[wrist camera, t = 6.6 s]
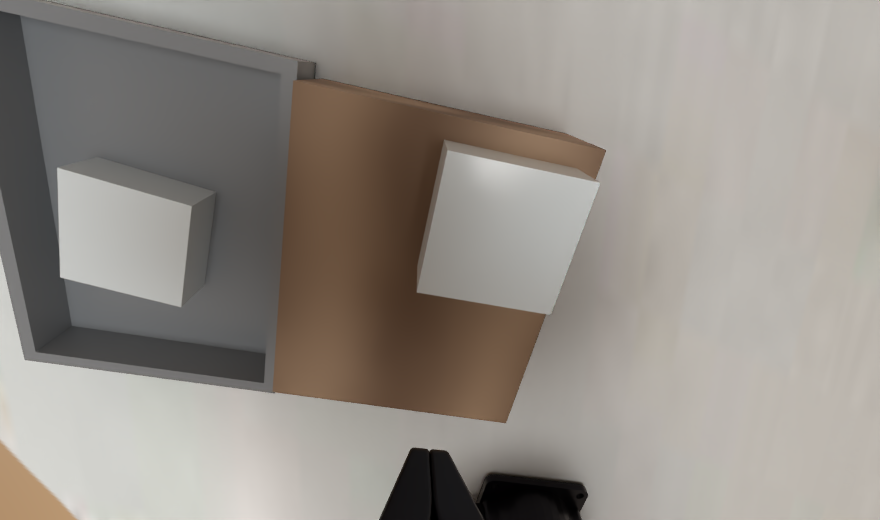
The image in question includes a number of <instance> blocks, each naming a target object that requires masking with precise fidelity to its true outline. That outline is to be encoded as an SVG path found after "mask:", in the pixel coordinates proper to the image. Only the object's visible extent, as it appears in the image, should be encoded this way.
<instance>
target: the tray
mask: <svg viewBox="0 0 880 520" xmlns="http://www.w3.org/2000/svg"><path fill="white" fill-rule="evenodd" d="M315 67H316V63H315V62H310V61H306V60H302V59H297V58H293V57H289V56H284V55H280V54H275V53H271V52H267V51H262V50H258V49H254V48H249V47H245V46H241V45H236V44H232V43H228V42H223V41H219V40H215V39H210V38H206V37H202V36H197V35H193V34H189V33H184V32H180V31H176V30H171V29H167V28H163V27H158V26H154V25H150V24H145V23H141V22H136V21H132V20H128V19H123V18H119V17H115V16H110V15H106V14H102V13H97V12H93V11H89V10H84V9H80V8H76V7H71V6H67V5H63V4H58V3H54V2H50V1H45V0H0V254H1V258H2V263H3V267H4V272H5V276H6V280H7V285H8V289H9V293H10V298H11V302H12V306H13V311H14V315H15V319H16V324H17V328H18V332H19V337H20V341H21V346H22V350H23V354H24V359H25V360H29V361H37V362H44V363H52V364H59V365H67V366H74V367H82V368H89V369H97V370H104V371H112V372H119V373H127V374H134V375H142V376H149V377H157V378H164V379H172V380H179V381H187V382H194V383H202V384H209V385H217V386H224V387H232V388H239V389H247V390H254V391H262V392H269V393H275V392H273V377H274V362H275V346H276V331H277V316H278V301H279V286H280V271H281V256H282V241H283V226H284V211H285V196H286V180H287V165H288V150H289V135H290V120H291V105H292V90H293V80H308V79H315ZM96 157H99V158H103V159H106V160H109V161H113V162H116V163H120V164H123V165H126V166H130V167H133V168H137V169H140V170H143V171H147V172H150V173H153V174H157V175H160V176H164V177H167V178H170V179H174V180H177V181H181V182H184V183H187V184H191V185H194V186H198V187H201V188H204V189H208V190H211V191H214V192H216V198H215V206H214V214H213V222H212V229H211V237H210V245H209V253H208V261H207V269H206V277H205V284H204V286H202V287H201V288H200V289H199V290H198V291H197V292H196V293H195V294H194V295H193V296H192V297H191V298H190V299H189V300H188V301H187V302H186V303H185V304H184V305H183V306H182V307H178V306H174V305H170V304H166V303H162V302H158V301H154V300H150V299H146V298H142V297H137V296H133V295H129V294H125V293H121V292H117V291H113V290H109V289H105V288H101V287H97V286H93V285H89V284H85V283H81V282H77V281H73V280H69V279H65V278H61V277H60V253H59V216H58V180H57V168H58V167H62V166H65V165H69V164H73V163H77V162H81V161H85V160H89V159H92V158H96Z"/></svg>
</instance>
